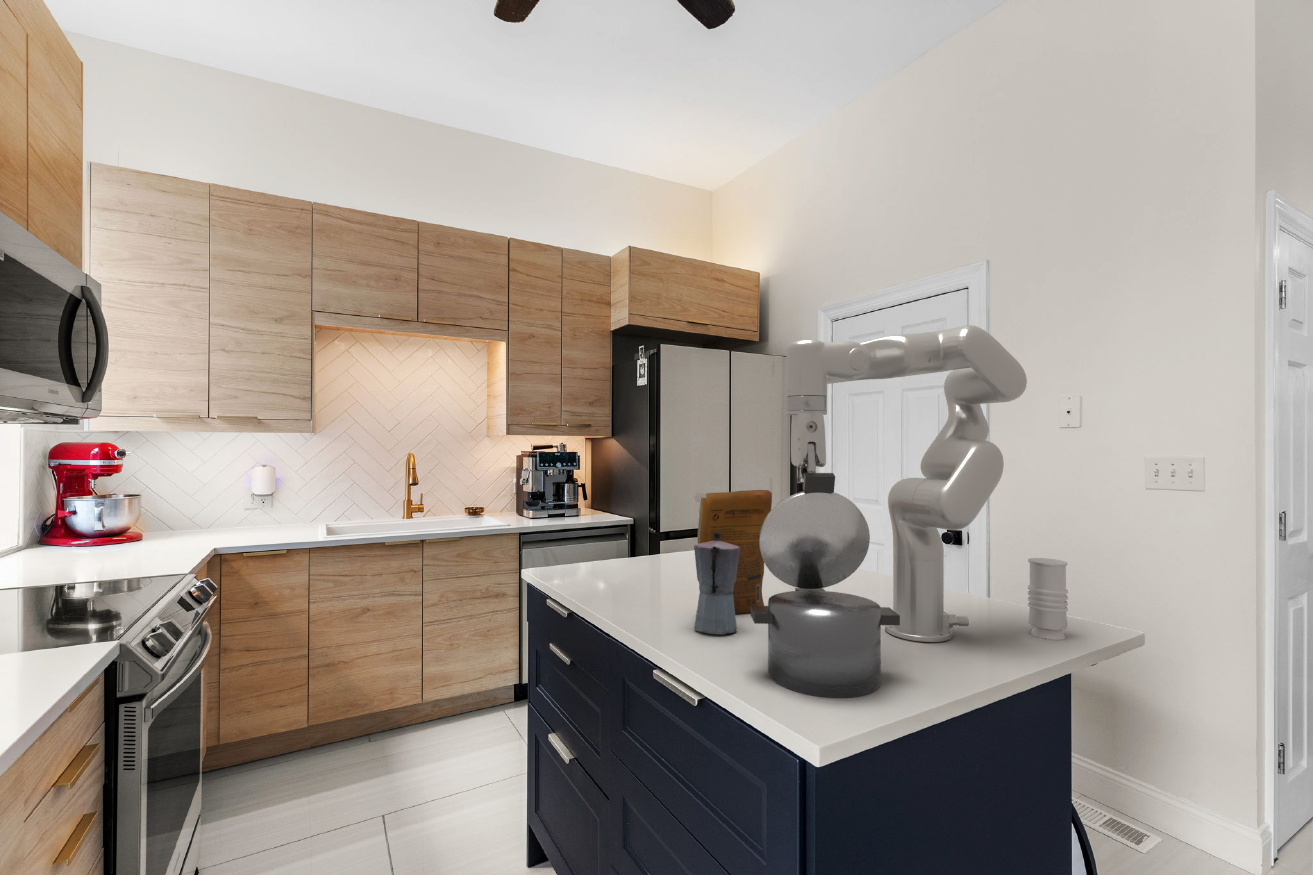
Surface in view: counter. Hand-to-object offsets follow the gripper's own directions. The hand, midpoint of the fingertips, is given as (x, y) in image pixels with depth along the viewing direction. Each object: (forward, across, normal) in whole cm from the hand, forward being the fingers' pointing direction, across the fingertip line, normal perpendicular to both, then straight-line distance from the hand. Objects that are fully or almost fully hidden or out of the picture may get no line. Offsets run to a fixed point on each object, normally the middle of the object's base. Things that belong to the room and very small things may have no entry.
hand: (805, 504), depth 116 cm
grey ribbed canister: (+27, +12, -51) cm, 59 cm away
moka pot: (+28, +11, +16) cm, 34 cm away
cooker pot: (+27, -13, 0) cm, 30 cm away
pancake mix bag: (+27, +25, +11) cm, 39 cm away
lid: (+5, -7, 0) cm, 9 cm away
